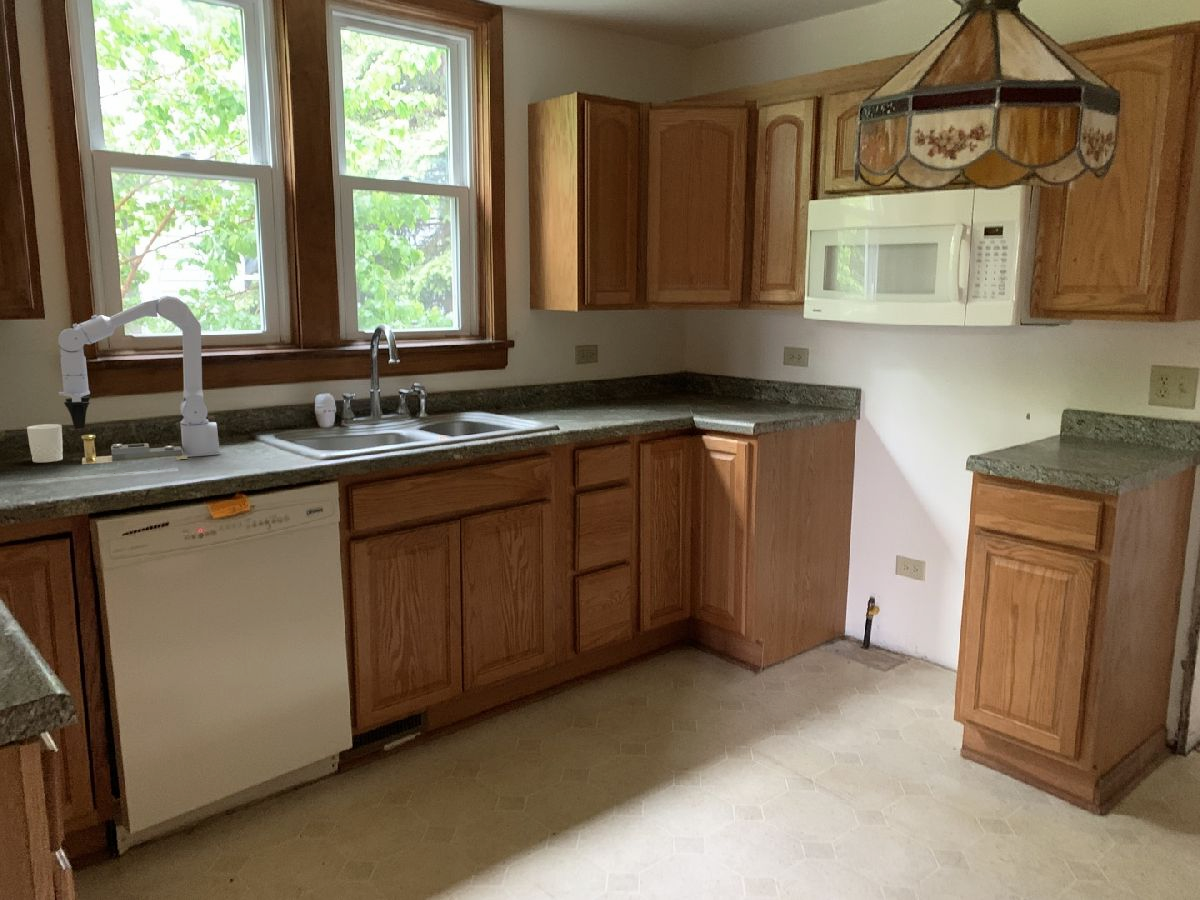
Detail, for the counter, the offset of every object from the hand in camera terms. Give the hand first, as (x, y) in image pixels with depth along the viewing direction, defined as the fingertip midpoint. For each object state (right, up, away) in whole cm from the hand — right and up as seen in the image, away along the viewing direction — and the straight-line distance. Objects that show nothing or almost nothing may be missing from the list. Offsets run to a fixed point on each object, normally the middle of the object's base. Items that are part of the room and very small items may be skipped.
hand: (79, 426), depth 239 cm
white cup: (-9, -10, +2) cm, 14 cm away
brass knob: (+2, -9, +1) cm, 9 cm away
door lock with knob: (+12, -9, +6) cm, 16 cm away
